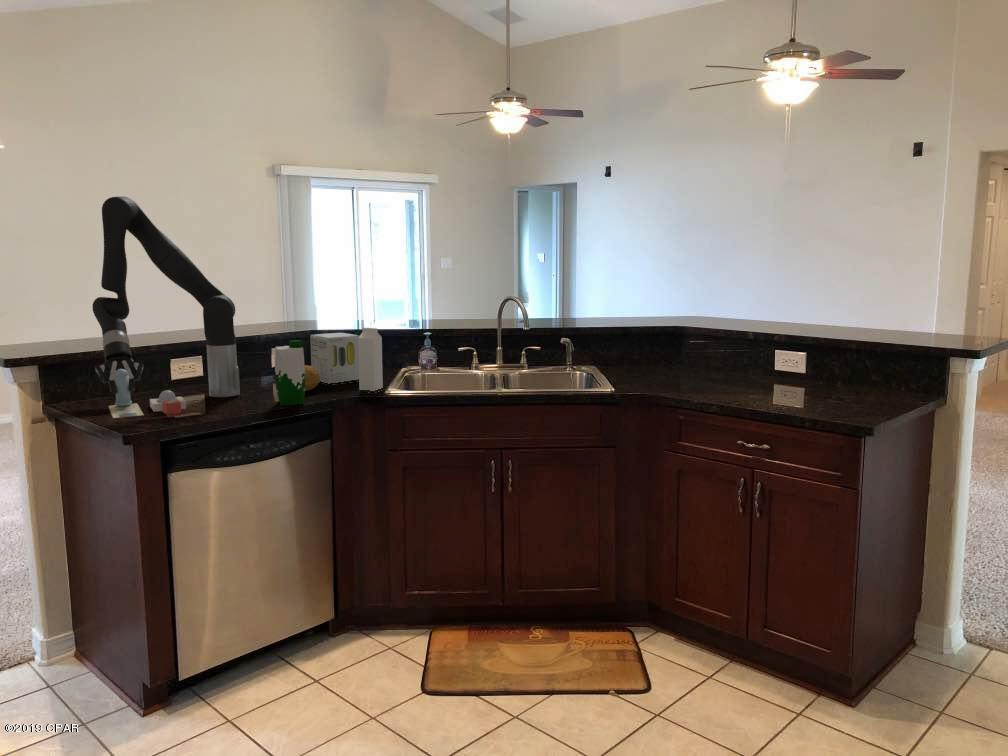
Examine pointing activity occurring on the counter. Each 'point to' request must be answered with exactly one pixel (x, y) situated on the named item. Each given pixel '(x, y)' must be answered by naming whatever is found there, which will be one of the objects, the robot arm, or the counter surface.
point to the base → (158, 406)
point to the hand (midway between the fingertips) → (123, 391)
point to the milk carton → (290, 373)
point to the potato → (311, 377)
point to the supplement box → (335, 357)
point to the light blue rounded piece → (167, 396)
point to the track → (126, 411)
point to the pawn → (122, 388)
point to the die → (171, 408)
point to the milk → (370, 360)
